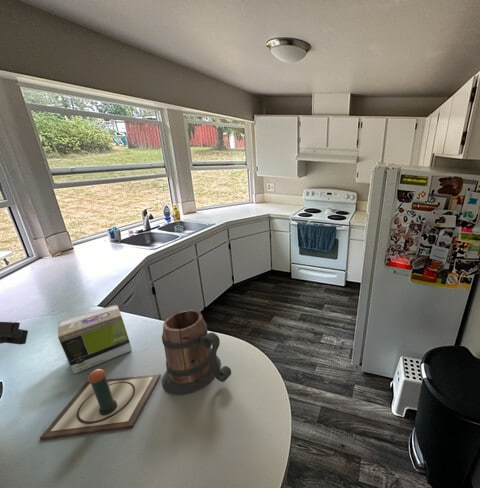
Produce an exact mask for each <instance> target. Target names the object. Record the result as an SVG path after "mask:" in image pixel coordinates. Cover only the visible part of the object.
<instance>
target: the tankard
mask: <svg viewBox="0 0 480 488" xmlns="http://www.w3.org/2000/svg"><path fill="white" fill-rule="evenodd" d="M207 324H208V323H207V322H206V321H205V319H204V317H203V314H202V312H201V311H200V310H197V309H187V310H183V311H178V312H176V313H173V314H172V315H170V316H169V317H167V318H165V320H164V322H163V324H162V325H163V326H162V334H161V343H162V344H163V348H164V353H165V367H166V371H165V372H164V373H163V376H162V379H161V386H162V389H163V390H164V391H165V392H166V393H168V394H170V395H174V396H186V395H190V394H193V393H195V392H199V391H200V390H202V389H204V388H205V387H207V386H209V385H210V384H211V383H212V382H213V381H214V380H215V379H216V380H217V381H219V382H222V383H224V382H226V381H227V380H228V379H229V378H230V376H231V375H232V369H231V368H230V367H229V366H227V365H223V366H222V362H221V359H220V358H219V356H218V355H217V351H218V350H219V348H220V344H221V341H220V338H219V335H218V334H217V333H215V332H209V331H208V325H207Z"/></svg>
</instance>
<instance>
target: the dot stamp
mask: <svg viewBox="0 0 480 488" xmlns="http://www.w3.org/2000/svg"><path fill="white" fill-rule="evenodd" d="M87 379H88V381H89V382H91V385H92V387H93V390H94V393H95V395H96V398H97V401H98V403H99V406H100V408H99V413H100V415H108V414H110V413H112V412H113V411H114V410H115V409H116V408H117V402H116V401H115V400H113V397H112V394H111V391H110V388H109V385H108V382H107V376H106V371H105V369H102V368H97V369H94V370H93V371H91V372H90V373H89V375H88V378H87Z"/></svg>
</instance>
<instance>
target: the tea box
mask: <svg viewBox="0 0 480 488" xmlns="http://www.w3.org/2000/svg"><path fill="white" fill-rule="evenodd" d="M57 338H58V340H59V343H60V346H61V348H62V350H63V353H64V356H65V357H66V359H67V362H68V365H69V366H70V369H71V371H72V373H73V374H74V375H76V374H78V373H81V372H83V371H85V370H89V369H90V368H92V367H95V366H97V365H100V364H102V363H104V362H107V361H109V360H113V359H114V358H117V357H119V356H121V355H124V354H126V353H129V352H132V351H133V348H132V346H131V341H130V339H129V335H128V332H127V328H126V326H125V323H124V320H123V316H122V313H121V312H120V308H119V306H118V304H113V305H109V306H107V307H103V308H100V309H97V310H94V311H90V312H87V313H84V314H80V315H77V316H74V317H71V318H68V319H65V320H61V321H58V333H57Z"/></svg>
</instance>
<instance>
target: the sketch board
mask: <svg viewBox="0 0 480 488" xmlns="http://www.w3.org/2000/svg"><path fill="white" fill-rule="evenodd" d="M160 378H161V373H156V374H147V375H137V376H128V377H117V378H108V379H107V378H106V379H107V382H108V385H109V388H110V391H111V394H112V397H113V400H115V401H116V402H117V408H116V409H115V410H114V411H113V412H112V413H110V414H108V415H100V413H99V408H100V406H99V403H98V401H97V398H96V395H95V393H94V390H93V387H92V385H91V382H89V380H88V381H86V382H85V383H84V385H83V386H82V387H81V388H80V389H79V390H78V392H76V394H75V395H74V396H73V398H72V399H71V400H70V401H69V402H68V403H67V404H66V405H65V407H63V409H62V410H61V412H60V413H59V414H58V415H57V416H56V417H55V418H54V420H53V421H52V422H51V424H50V425H49V426H48V427H47V428H46V429H45V430H44V431H43V433H42V434H41V435H40V436H39V440H41V441H44V440H50V439H58V438H65V437H71V436H80V435H88V434H95V433H103V432H110V431H116V430H117V431H119V430H125V429H132V428H134V426H135V425H136V423H137V420H138V419H139V417H140V415H141V413H142V412H143V409H144V408H145V406H146V404H147V403H148V400H149V399H150V397H151V394H152V393H153V391H154V389H155V387H156V385H157V383H158V382H159V380H160Z"/></svg>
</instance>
